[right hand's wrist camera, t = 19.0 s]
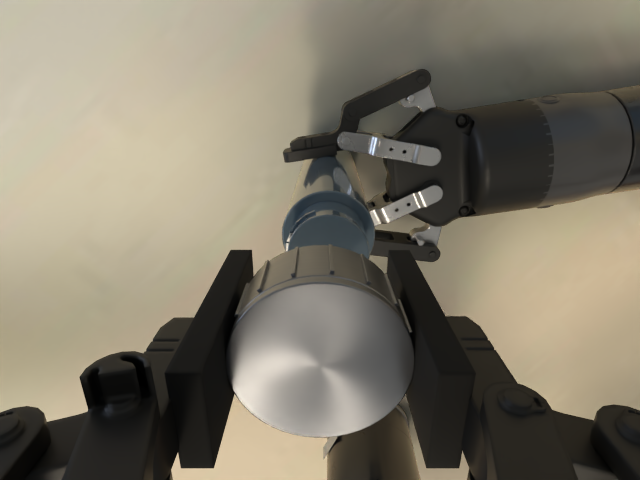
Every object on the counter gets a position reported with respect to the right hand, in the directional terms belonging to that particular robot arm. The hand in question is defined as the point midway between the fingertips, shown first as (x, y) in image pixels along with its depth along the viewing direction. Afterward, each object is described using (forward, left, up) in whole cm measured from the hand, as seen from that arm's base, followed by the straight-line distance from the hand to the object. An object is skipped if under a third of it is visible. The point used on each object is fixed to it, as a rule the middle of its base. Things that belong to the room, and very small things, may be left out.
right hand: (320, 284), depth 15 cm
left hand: (-1, +2, -15) cm, 16 cm away
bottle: (0, 0, -22) cm, 22 cm away
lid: (0, 0, +4) cm, 4 cm away
